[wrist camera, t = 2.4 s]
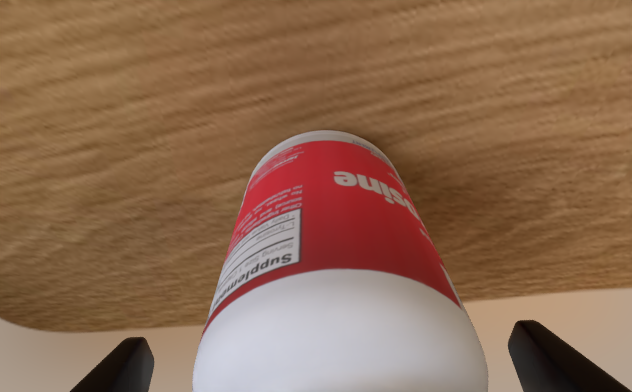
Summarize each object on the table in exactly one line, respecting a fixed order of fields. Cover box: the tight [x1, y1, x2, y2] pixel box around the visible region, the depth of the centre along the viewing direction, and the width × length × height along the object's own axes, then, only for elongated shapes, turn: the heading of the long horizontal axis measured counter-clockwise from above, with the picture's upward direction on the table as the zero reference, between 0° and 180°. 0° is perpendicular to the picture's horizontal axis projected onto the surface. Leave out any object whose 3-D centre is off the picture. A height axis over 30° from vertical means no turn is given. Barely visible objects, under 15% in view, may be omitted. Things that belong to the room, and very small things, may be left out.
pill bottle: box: [192, 130, 488, 392], centre depth 10 cm, size 6×6×11 cm
